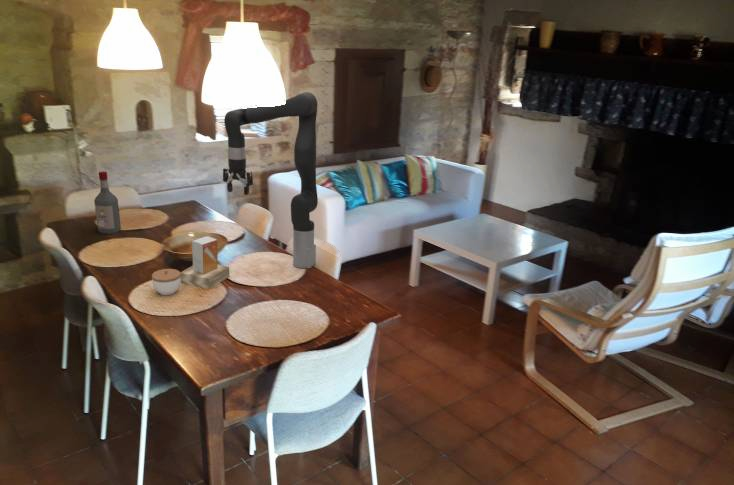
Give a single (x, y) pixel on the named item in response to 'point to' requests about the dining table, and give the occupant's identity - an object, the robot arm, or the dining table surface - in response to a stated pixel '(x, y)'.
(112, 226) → the liquor
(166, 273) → the lidded jar
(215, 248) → the small box
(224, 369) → the dining table surface
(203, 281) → the birch plinth
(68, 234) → the dining table surface
